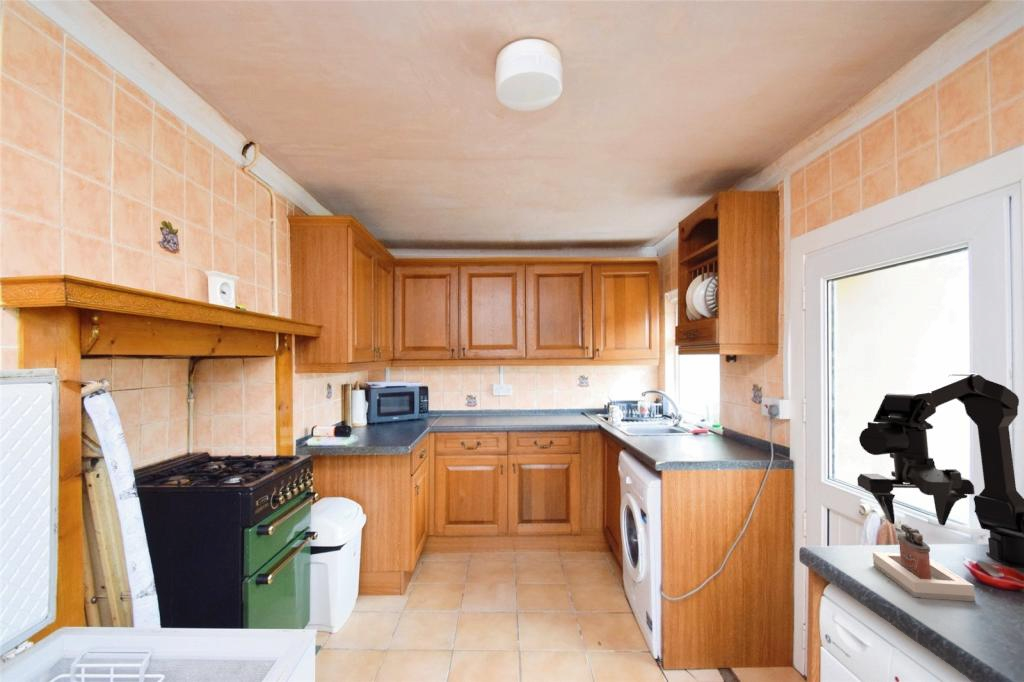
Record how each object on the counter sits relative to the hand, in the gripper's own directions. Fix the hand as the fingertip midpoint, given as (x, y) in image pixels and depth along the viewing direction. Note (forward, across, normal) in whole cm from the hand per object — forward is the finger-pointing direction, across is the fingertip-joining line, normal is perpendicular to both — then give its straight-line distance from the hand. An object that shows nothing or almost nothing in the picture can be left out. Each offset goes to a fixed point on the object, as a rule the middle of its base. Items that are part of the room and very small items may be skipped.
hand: (916, 524), depth 95 cm
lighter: (+11, -1, -1) cm, 11 cm away
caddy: (+12, -1, -1) cm, 12 cm away
